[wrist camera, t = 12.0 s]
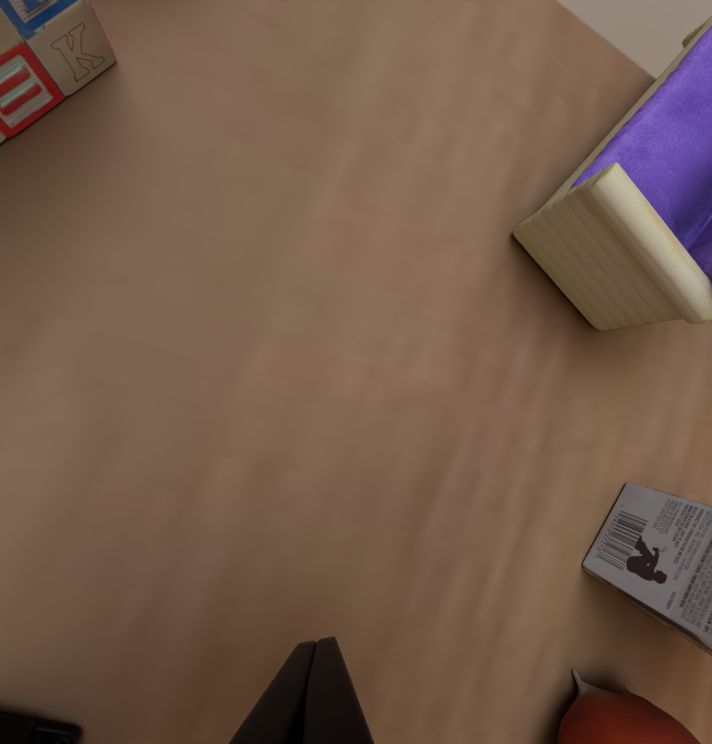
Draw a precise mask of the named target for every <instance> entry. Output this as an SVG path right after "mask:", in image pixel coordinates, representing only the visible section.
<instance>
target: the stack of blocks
mask: <svg viewBox="0 0 712 744" xmlns="http://www.w3.org/2000/svg"><path fill="white" fill-rule="evenodd" d="M115 60H116V57H115V54H114V52H113V50H112V48H111V46H110V43H109V41H108V39H107V37H106V35H105V33H104V31H103V29H102V27H101V25H100V22H99V20H98V18H97V16H96V14H95V12H94V10H93V8H92V5H91V3H90V2H89V0H0V143H1V142H3V141H4V139H5V138H7V137H11V136H13V135H15V134H17V133H18V132H19V131H21V130H22V129H24V128H25V127H26V126H28V125H29V124H31V123H32V122H33V121H35V120H36V119H38V118H39V117H40V116H41V115H43V114H44V113H45V112H47V111H48V110H50V109H51V108H53V107H54V106H55V105H57V104H58V103H59V102H61V101H62V100H63V99H64V98H65V97H66V96H68V95H71V94H73V93H74V92H75V91H77V90H78V89H80V88H81V87H83V86H84V85H85V84H86V83H88V82H89V81H90V80H92V79H93V78H95V77H96V76H97V75H99V74H100V73H101V72H103V71H104V70H105V69H107V68H108V67H109V66H111V65H112V64H113V63H114V62H115Z"/></svg>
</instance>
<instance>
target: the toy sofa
mask: <svg viewBox="0 0 712 744" xmlns="http://www.w3.org/2000/svg"><path fill="white" fill-rule="evenodd" d="M682 44H683V46H684V49H683V50H682V52H681V53H680V54H679V55H678V56H677V58H676V59H675V60H674V61H673V62H672V63H671V64H670V65H669V66H668V68H667V69H666V70H665V71H664V72H663V73H662V74H661V75H660V76H659V78H658V79H657V80H656V81H655V82H654V83H653V84H652V86H651V87H650V88H649V89H648V90H647V91H646V92H645V93H644V95H643V96H642V97H641V98H640V99H639V100H638V101H637V102H636V103H635V104H634V106H633V107H632V108H631V109H630V110H629V111H628V112H627V113H626V114H625V116H624V117H623V118H622V119H621V120H620V121H619V122H618V124H617V125H616V126H615V127H614V128H613V129H612V130H611V131H610V133H609V134H608V135H607V136H606V137H605V138H604V139H603V140H602V141H601V143H600V144H599V145H598V146H597V147H596V148H595V149H594V150H593V151H592V153H591V154H590V155H589V156H588V157H587V158H586V159H585V160H584V162H583V163H582V164H581V165H580V166H579V167H578V168H577V169H576V170H575V172H574V173H573V174H572V175H571V176H570V177H569V178H568V179H567V180H566V181H565V182H564V183H563V185H562V186H561V187H560V188H559V189H558V190H557V191H556V192H555V194H554V195H553V196H552V197H551V198H550V199H549V200H548V201H547V202H546V203H545V204H544V206H543V207H542V208H541V209H540V210H538V211H537V212H536V213H534V214H533V215H532V216H530V217H528V218H527V219H525V220H524V221H522V222H521V223H520V224H519V225H518V226H517V227H516V228H515V229H514V230H513V234H514V236H515V238H516V239H517V240H518V241H519V242H520V243H521V244H522V246H523V247H524V248H525V249H526V250H527V252H528V253H529V254H530V255H531V256H532V258H533V259H534V260H535V261H536V262H537V263H538V264H539V265H540V266H541V268H542V269H543V270H544V271H545V272H546V273H547V274H548V276H549V277H550V278H551V279H552V280H553V281H554V283H555V284H556V285H557V286H558V287H559V288H560V289H561V291H562V292H563V293H564V294H565V295H566V296H567V297H568V299H569V300H570V301H571V302H572V303H573V304H574V305H575V306H576V308H577V309H578V310H579V311H580V312H581V313H582V314H583V316H584V317H585V318H586V319H587V320H588V321H589V322H590V323H591V324H592V326H593V327H595V328H596V329H598V330H601V331H606V330H612V329H618V328H624V327H630V326H636V325H643V324H649V323H655V322H660V321H667V320H675V319H682V318H683V319H684V320H685V321H686V322H687V323H690V324H699V323H704V322H707V321H710V320H712V16H711V17H710V18H709V19H707V20H706V21H705V22H704V23H702V24H701V25H700V26H699V27H698V28H696V29H695V30H694V31H693V32H692V33H690V34H689V35H688V36H687V37H686V38H685V39H684V40H683V42H682Z"/></svg>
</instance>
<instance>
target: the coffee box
mask: <svg viewBox="0 0 712 744" xmlns="http://www.w3.org/2000/svg"><path fill="white" fill-rule="evenodd" d="M583 568H584V570H586V571H587V572H588V573H589V574H591V575H592V576H594V577H595V578H597V579H598V580H599V581H601V582H602V583H604V584H605V585H607V586H608V587H610V588H611V589H613V590H614V591H615V592H617V593H618V594H620V595H621V596H623V597H624V598H626V599H627V600H629V601H630V602H632V603H633V604H634V605H636V606H637V607H639V608H640V609H642V610H643V611H645V612H646V613H648V614H649V615H651V616H652V617H654V618H655V619H656V620H658V621H659V622H661V623H662V624H664V625H665V626H667V627H668V628H670V629H671V630H672V631H674V632H675V633H677V634H678V635H680V636H681V637H683V638H684V639H686V640H688V641H689V642H691V643H692V644H694V645H696V646H697V647H699V648H700V649H702V650H703V651H705V652H707V653H708V654H710V655H711V656H712V506H709V505H706V504H703V503H699V502H696V501H692V500H689V499H685V498H682V497H679V496H675V495H672V494H668V493H665V492H662V491H658V490H654V489H651V488H648V487H644V486H641V485H637V484H634V483H630V482H629V483H627V484H626V485H625V487H624V489H623V491H622V492H621V494H620V496H619V498H618V500H617V502H616V504H615V505H614V507H613V509H612V511H611V513H610V515H609V516H608V518H607V520H606V522H605V524H604V526H603V527H602V529H601V531H600V533H599V535H598V537H597V539H596V540H595V542H594V544H593V546H592V548H591V550H590V551H589V553H588V555H587V557H586V559H585V561H584V563H583Z"/></svg>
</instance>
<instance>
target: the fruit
mask: <svg viewBox="0 0 712 744" xmlns="http://www.w3.org/2000/svg"><path fill="white" fill-rule="evenodd" d="M572 672H573V674H574V677H575V679H576V681H577V684H578V686H579V693H578V696H577V698H576V700H575V701H574V702H573V704H572V705H571V707H570V708H569V710H568V711H567V713H566V714H565V716H564V717H563V719H562V721H561V723H560V728H559V734H558V743H557V744H701V743H700V742H699V741H698V740H697V739H696V738H695V737H694V736H693V735H692V734H691V733H690V732H689V731H688V730H687V729H686V728H685V727H684V726H683V725H682V724H681V723H680V722H679V721H677V720H676V719H675V718H674V717H672V716H671V715H669V714H668V713H666V712H665V711H663V710H661V709H660V708H658V707H657V706H655V705H654V704H652V703H651V702H649V701H648V700H646V699H644V698H643V697H640V696H637V695H635V694H632V693H631V692H629V691H628V690H627V689H626V688H625V687H624V691H623V693H622V694H620V693H615V692H610V691H607V690H603V689H600V688H597V687H595V686H593V685H590V684H587V683H585V682H584V681H582V680H581V678H580V676H579V675H578V673H577V671H576V669H575V671H574V670H573V669H572Z"/></svg>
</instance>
